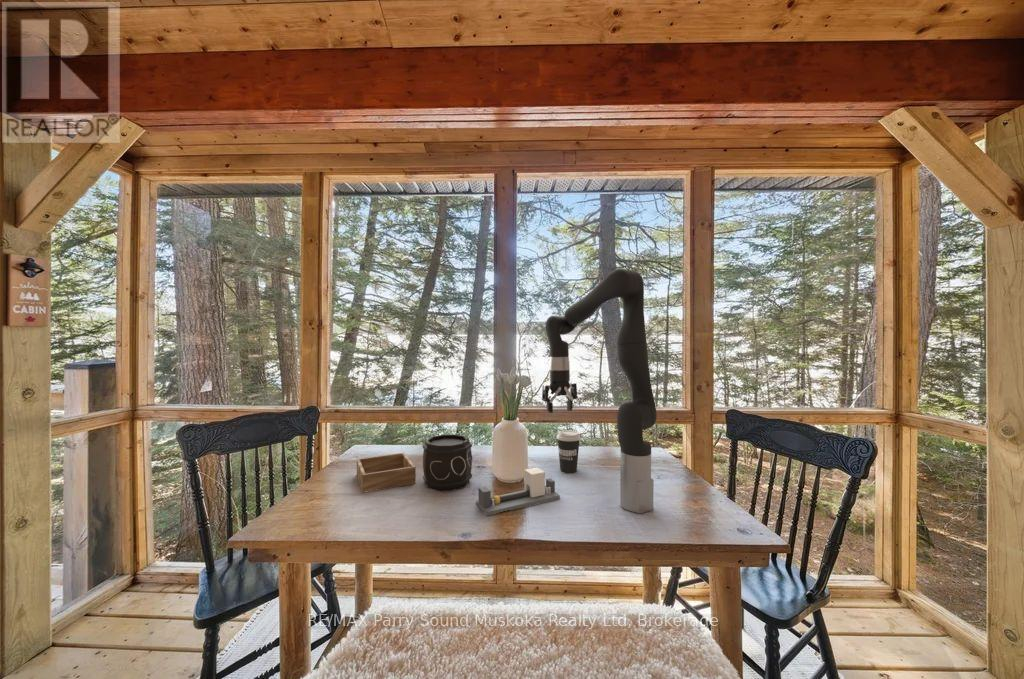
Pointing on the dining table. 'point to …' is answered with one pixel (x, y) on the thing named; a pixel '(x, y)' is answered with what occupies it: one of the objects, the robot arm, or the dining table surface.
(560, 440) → the coffee cup
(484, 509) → the gray slide rail base
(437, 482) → the black canister
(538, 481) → the sleeve
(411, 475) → the box
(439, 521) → the dining table surface
